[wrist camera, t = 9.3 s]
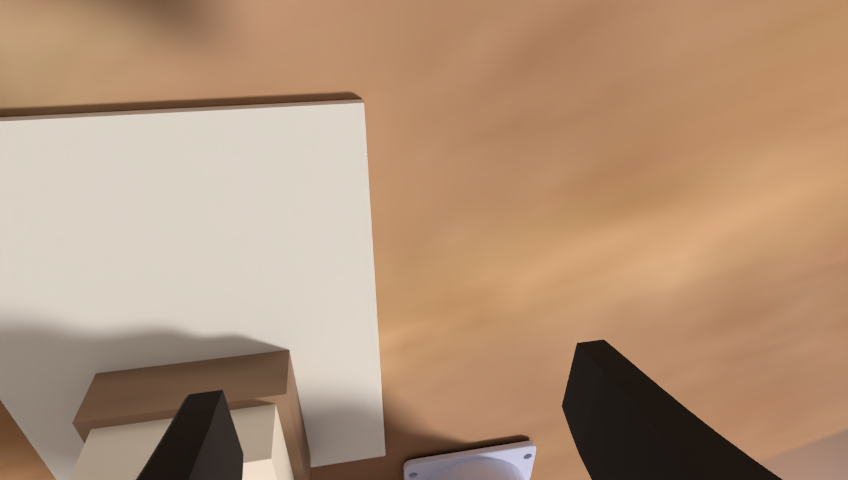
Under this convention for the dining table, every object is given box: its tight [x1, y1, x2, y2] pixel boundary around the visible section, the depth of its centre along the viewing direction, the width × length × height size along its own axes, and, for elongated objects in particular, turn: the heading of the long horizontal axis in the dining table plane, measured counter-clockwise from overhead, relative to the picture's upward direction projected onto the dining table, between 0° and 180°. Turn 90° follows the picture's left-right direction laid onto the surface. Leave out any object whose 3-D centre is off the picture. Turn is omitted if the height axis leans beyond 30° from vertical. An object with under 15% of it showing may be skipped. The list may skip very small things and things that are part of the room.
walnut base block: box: [72, 350, 311, 480], centre depth 23 cm, size 8×8×2 cm
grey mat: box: [0, 99, 386, 480], centre depth 21 cm, size 20×16×1 cm
